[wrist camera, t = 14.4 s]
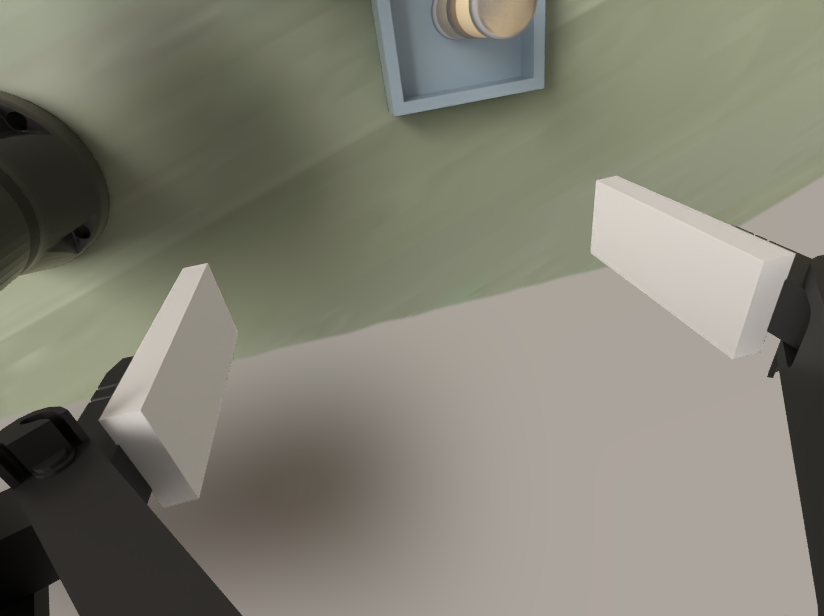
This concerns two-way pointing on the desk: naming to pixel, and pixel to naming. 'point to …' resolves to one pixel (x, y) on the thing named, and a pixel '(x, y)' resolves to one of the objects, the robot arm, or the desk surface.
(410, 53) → the parts tray
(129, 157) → the desk surface
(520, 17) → the fuse
